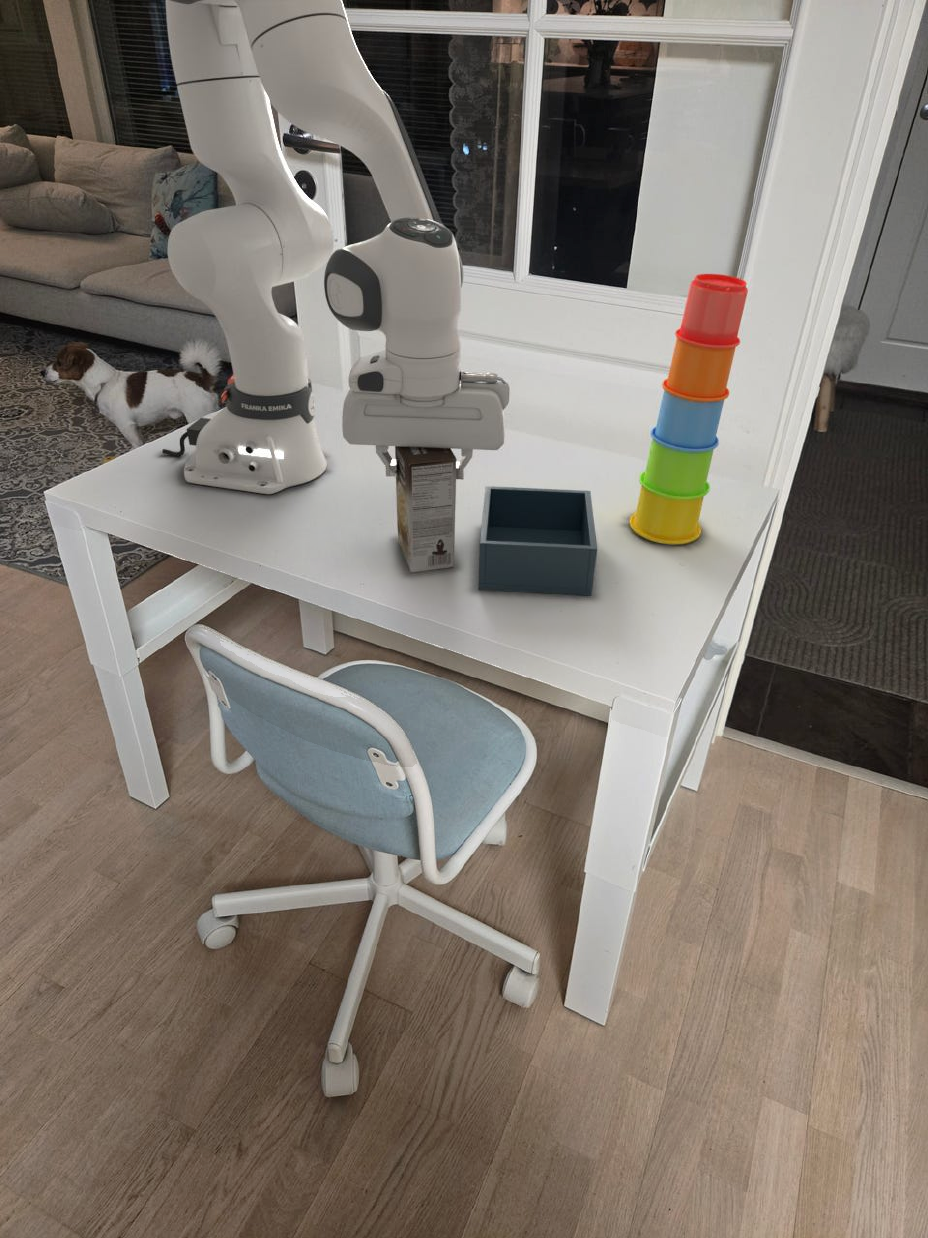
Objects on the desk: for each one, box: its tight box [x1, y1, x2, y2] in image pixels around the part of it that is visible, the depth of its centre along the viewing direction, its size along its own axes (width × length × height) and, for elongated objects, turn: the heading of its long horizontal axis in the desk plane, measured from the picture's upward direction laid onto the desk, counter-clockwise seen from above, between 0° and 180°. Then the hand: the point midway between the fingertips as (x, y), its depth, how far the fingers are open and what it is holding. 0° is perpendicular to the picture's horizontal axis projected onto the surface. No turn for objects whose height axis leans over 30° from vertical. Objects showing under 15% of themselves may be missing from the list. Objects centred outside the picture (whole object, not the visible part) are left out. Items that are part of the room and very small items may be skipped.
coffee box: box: [394, 446, 458, 573], centre depth 108 cm, size 9×6×16 cm
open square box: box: [477, 485, 598, 596], centre depth 110 cm, size 15×16×7 cm
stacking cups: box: [629, 273, 749, 546], centre depth 109 cm, size 10×10×35 cm
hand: (425, 476), depth 106 cm, fingers closed on coffee box, 7 cm apart
